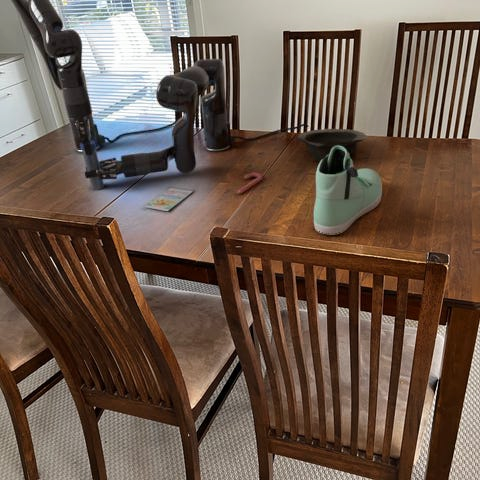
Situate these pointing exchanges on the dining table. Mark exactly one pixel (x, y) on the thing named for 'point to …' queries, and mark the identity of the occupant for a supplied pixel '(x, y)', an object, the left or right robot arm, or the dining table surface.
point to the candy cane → (250, 182)
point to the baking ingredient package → (168, 199)
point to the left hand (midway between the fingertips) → (89, 151)
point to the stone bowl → (330, 141)
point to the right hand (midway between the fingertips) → (85, 172)
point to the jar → (93, 164)
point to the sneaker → (343, 192)
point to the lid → (91, 145)
